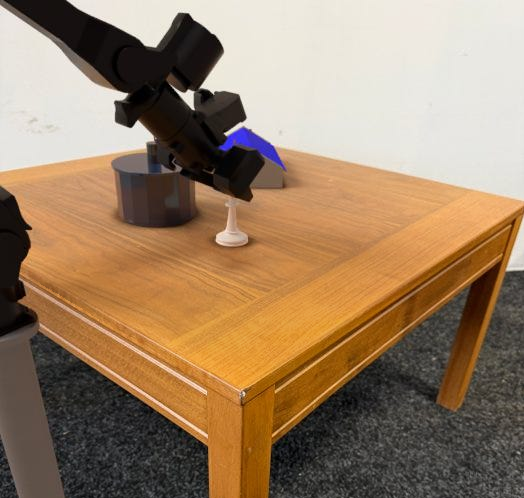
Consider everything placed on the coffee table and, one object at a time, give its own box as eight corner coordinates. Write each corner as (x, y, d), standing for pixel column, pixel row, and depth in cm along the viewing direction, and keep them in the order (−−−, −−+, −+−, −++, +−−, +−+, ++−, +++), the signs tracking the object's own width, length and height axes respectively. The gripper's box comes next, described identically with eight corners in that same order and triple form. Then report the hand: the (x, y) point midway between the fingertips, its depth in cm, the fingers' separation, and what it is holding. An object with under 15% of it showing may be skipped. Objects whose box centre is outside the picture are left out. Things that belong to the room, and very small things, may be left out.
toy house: (212, 159, 125) (211, 125, 121) (273, 160, 126) (274, 126, 122) (215, 187, 106) (214, 148, 102) (286, 187, 108) (288, 148, 104)
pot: (157, 233, 85) (154, 181, 81) (103, 214, 91) (97, 165, 87) (211, 213, 94) (210, 165, 89) (158, 197, 100) (155, 152, 95)
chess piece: (249, 235, 85) (250, 170, 80) (247, 247, 81) (248, 179, 76) (217, 234, 85) (217, 168, 80) (213, 246, 81) (212, 177, 76)
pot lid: (154, 186, 80) (152, 157, 78) (93, 169, 87) (89, 142, 85) (214, 168, 90) (214, 142, 88) (155, 154, 96) (153, 130, 94)
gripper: (255, 78, 63) (316, 164, 75) (170, 62, 75) (234, 138, 87) (199, 157, 63) (269, 231, 75) (123, 128, 75) (194, 196, 87)
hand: (241, 195), depth 81 cm, fingers open, 4 cm apart
